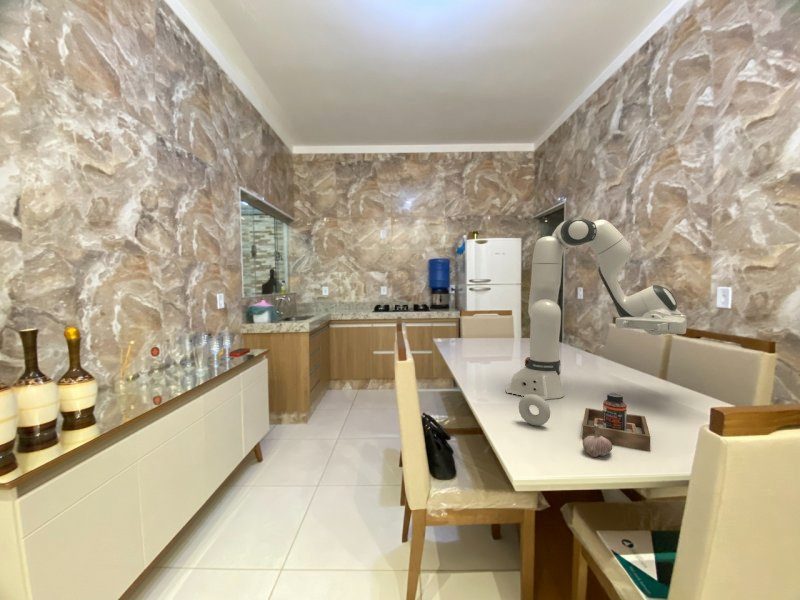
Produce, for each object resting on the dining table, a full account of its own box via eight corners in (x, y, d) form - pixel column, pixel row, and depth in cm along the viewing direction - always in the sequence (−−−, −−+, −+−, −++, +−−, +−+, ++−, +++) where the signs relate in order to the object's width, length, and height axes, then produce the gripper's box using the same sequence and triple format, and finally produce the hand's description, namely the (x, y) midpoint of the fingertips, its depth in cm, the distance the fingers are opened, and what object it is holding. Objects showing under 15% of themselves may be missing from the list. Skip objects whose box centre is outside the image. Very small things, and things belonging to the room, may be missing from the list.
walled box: (582, 438, 101) (582, 425, 101) (585, 419, 114) (585, 407, 114) (650, 451, 92) (650, 436, 92) (644, 429, 106) (644, 416, 106)
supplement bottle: (603, 434, 102) (603, 395, 102) (602, 426, 107) (602, 390, 107) (627, 437, 99) (627, 398, 99) (625, 429, 105) (625, 392, 104)
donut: (516, 423, 113) (516, 392, 113) (521, 419, 116) (520, 390, 116) (548, 431, 107) (547, 399, 106) (552, 427, 109) (551, 396, 109)
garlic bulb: (590, 460, 89) (590, 430, 88) (575, 447, 96) (575, 419, 96) (620, 459, 89) (619, 429, 88) (603, 446, 96) (603, 418, 96)
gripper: (624, 312, 133) (607, 315, 126) (691, 315, 117) (676, 318, 109) (624, 328, 134) (607, 332, 126) (691, 334, 117) (676, 338, 109)
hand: (640, 326), depth 117 cm, fingers open, 8 cm apart
